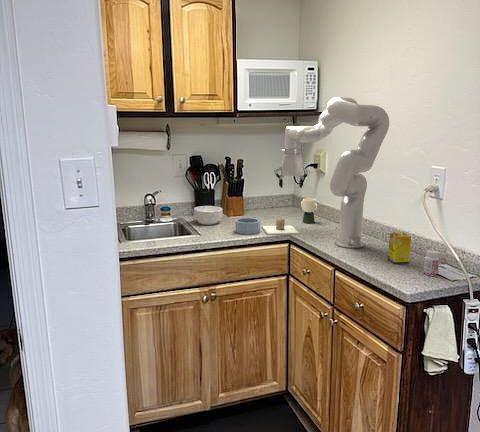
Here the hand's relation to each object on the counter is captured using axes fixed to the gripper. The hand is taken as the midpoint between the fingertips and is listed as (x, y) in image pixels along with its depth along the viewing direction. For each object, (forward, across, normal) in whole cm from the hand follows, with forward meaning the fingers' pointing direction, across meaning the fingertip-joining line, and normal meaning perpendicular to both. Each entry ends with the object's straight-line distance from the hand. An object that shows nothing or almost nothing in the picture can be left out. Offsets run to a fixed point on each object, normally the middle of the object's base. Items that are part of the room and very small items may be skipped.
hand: (290, 187), depth 221 cm
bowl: (+21, -22, -6) cm, 31 cm away
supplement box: (+21, +32, -55) cm, 67 cm away
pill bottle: (+21, +38, -70) cm, 82 cm away
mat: (+21, -6, -5) cm, 23 cm away
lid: (+21, -6, -5) cm, 22 cm away
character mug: (+22, +13, +14) cm, 28 cm away
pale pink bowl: (+22, -40, +16) cm, 49 cm away
